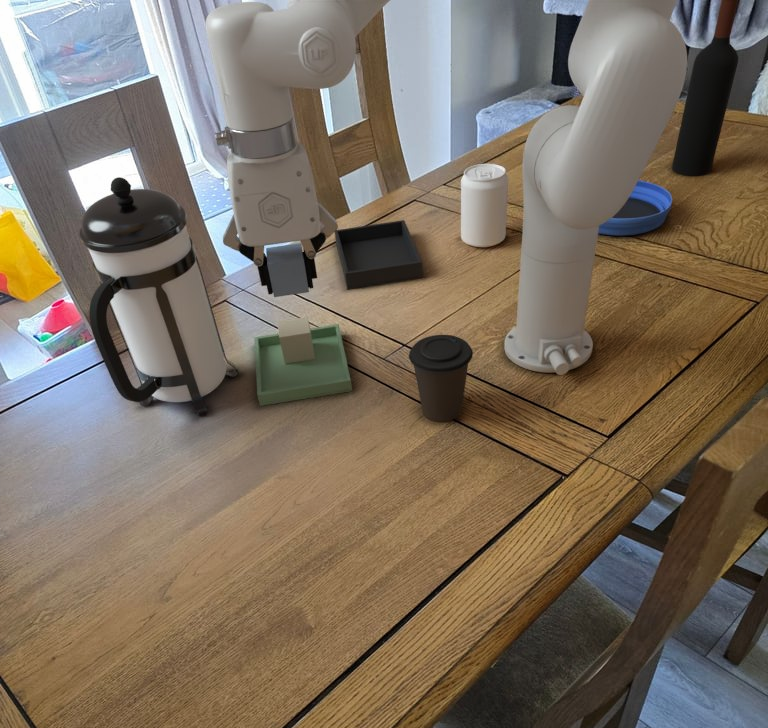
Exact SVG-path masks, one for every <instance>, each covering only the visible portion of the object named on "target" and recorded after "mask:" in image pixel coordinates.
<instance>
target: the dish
mask: <svg viewBox="0 0 768 728" xmlns="http://www.w3.org/2000/svg"><path fill="white" fill-rule="evenodd" d="M310 331H311V337H312V342H313V349H314V355H315V359H313V360H306V361H300V362H294V363H287V364H285V362H284V358H283V353H282V349H281V344H280V339H279V333H273V334H266V335H260V336H254V337H253V338H254V358H255V376H256V377H255V379H256V396H257V400H258V403H259V407H261V406H269V405H274V404H281V403H287V402H292V401H298V400H304V399H305V400H306V399H311V398H318V397H324V396H331V395H337V394H343V393H349V392H353V386H352V379H351V374H350V369H349V365H348V361H347V360H348V359H347V355H346V351H345V347H344V343H343V337H342V333H341V329H340V324H339V323H337V324H336V323H335V324H330V325H323V326H318V327H317V326H316V327H310Z"/></svg>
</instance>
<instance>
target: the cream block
mask: <svg viewBox="0 0 768 728" xmlns="http://www.w3.org/2000/svg"><path fill="white" fill-rule="evenodd" d="M310 329H311V326H310V321H309V316H304V317H303V316H302V317H296V318H291V319H284V320H278V321H277V330H278V334H279V339H280V344H281V349H282V353H283V358H284V362H285V364H287V363H294V362H300V361H306V360H313V359H315V355H314V349H313V342H312V337H311V331H310Z"/></svg>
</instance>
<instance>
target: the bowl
mask: <svg viewBox="0 0 768 728" xmlns="http://www.w3.org/2000/svg"><path fill="white" fill-rule="evenodd" d="M672 207H673V196H672V194H671V192H670V191H669V190H668V189H666V188H665V187H662V186H660V185H659V184H655V183H653V182H649V181H644V180H640V179H639V181H638V183H637V184H636V186H635V188H634V190H633V192H632V193H631V195H630V197H629V198H628V200H627V201H626V203H625V204H624V205H623V207H622V208H621V209H620V210H619V211H618V212H617V213H616V214H615V215H614V216H613V217H612V218H611V219H609V220H608V221H607V222H605V223H603V224H601V225H599V231H598V235H599V234H600V235H606V236H619V237H620V236H634V235H641V234H645V233H648V232H651V231H654V230H656V229H657V228H659V227H660V226H662V225H663V223H664V222H665V221H666V219H667V216H668V215H669V213H670V210H671V209H672Z"/></svg>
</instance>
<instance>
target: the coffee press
mask: <svg viewBox="0 0 768 728" xmlns="http://www.w3.org/2000/svg"><path fill="white" fill-rule="evenodd" d="M110 191H111V192H112V194H108V195H106V196H104V197H102V198H99V199H98V200H96V201H95V202H94V203H93V204H92V205H90V206H89V207H88V208H87V209H86V210H85V212H84V214H83V215H82V218H81V227H80V229H79V238H80V240H81V243H82V244H83V245H84V247H85V248H86V249H87V250H88V252H89V254H90V256H91V258H92V266H93V268H94V271H95V273H96V276H97V279H98V281H99V283H100V285H99V286H98V287H97V288H96V290H95V292H94V293H93V295H92V297H91V299H90V304H89V311H88V312H89V324H90V329H91V332H92V336H93V338H94V341H95V344H96V346H97V348H98V350H99V353H100V356H101V358H102V360H103V362H104V365H105V367H106V369H107V371H108V374H109V376H110V378H111V381H112V383H113V384H114V386H115V388H116V390H117V392H118V393H119V394H120V396H121V397H122V398H123V399H125V400H127V401H130V402H134V403H139V405H140V406H142V407H147V406H150V404H151V403H152V400H153V399H157V400H160V401H163V402H168V403H185V402H186V403H187V402H191V403H192V405H193V407H194V411H195V413H196V415H197V416H201V415H204V414H207V413H208V411H207V409H206V406H205V402H204V401H203V397H204V396H206V395H208V394H210V393H212V392H213V391H214V390H215V389H217V388H218V387H219V386H220V385H221V384H222V382H223V380H224V379H225V376H226V377H227V376H228V377H230V378H236V377H238V375H239V370H238V368H237V366H236V365H235V364H234V363H233V362H231V361H230V360H229V359H227V356H226V352H225V350H224V345H223V343H222V339H221V336H220V333H219V328H218V325H217V322H216V318H215V315H214V311H213V308H212V305H211V301H210V297H209V294H208V290H207V287H206V284H205V280H204V277H203V274H202V269H201V266H200V263H199V260H198V256H197V252H196V249H195V245H194V242H193V239H192V238H191V237H190V236H189V231H188V229H187V224H188V216H187V213H186V210H185V208H183V206H181V205H180V204H178V202H177V201H176V200H175V199H174V198H173V197H172V196H170V195H169V194H167V193H166V192H163V191H160V190H156V189H150V188H133V189H132V184H130V182H129V181H128V180H127V179H126V178H124V177H115V178H114V179H112V180H111V182H110ZM108 307H109V308H110V310H111V313H112V315H113V318H114V321H115V323H116V326H117V327H118V330H119V332H120V335H121V337H122V340H123V342H124V346H125V348H126V350H127V353H128V355H129V357H130V360H131V362H132V365H133V367H134V369H135V372H136V375H137V377H138V380H139V383H140V385H139V386H138V387H135V386H134V385H133V383H132V382H131V380H130V377H129V376H128V373H127V371H126V369H125V366H124V364H123V361H122V359H121V357H120V354H119V352H118V349H117V346H116V345H115V342H114V339H113V337H112V335H111V333H110V329H109V325H108V320H107V318H108V317H107V316H108V315H107V313H108ZM226 364H228V365H229V366H230V367H232V368H233V369H234V370H233V371H228V370H227V365H226Z"/></svg>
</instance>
